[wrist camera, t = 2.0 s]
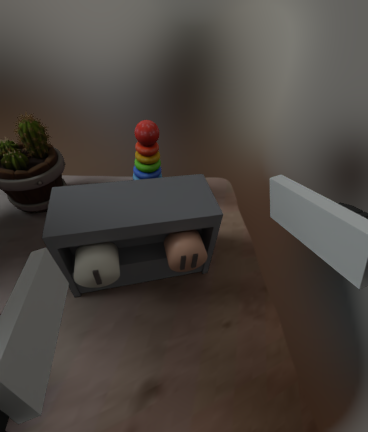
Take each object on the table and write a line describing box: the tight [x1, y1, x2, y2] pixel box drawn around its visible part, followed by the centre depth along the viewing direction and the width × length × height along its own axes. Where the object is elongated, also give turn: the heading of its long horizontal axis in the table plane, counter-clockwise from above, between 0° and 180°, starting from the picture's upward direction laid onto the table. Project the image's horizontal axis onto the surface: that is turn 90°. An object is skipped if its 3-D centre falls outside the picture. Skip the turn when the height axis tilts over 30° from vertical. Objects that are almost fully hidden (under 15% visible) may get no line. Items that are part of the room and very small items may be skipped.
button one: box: [74, 242, 120, 288], centre depth 34 cm, size 4×6×6 cm
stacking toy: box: [133, 120, 162, 180], centre depth 55 cm, size 8×8×19 cm
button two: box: [164, 229, 208, 272], centre depth 37 cm, size 4×6×6 cm
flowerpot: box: [0, 113, 66, 213], centre depth 50 cm, size 14×15×20 cm
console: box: [42, 174, 223, 297], centre depth 41 cm, size 10×24×16 cm, turn 104°
